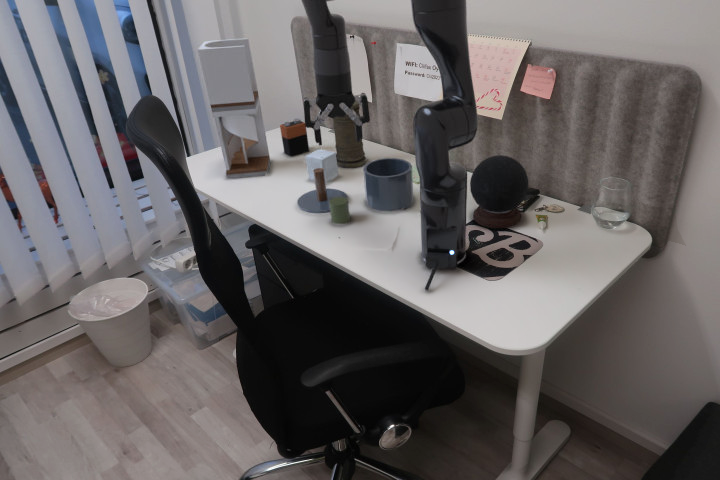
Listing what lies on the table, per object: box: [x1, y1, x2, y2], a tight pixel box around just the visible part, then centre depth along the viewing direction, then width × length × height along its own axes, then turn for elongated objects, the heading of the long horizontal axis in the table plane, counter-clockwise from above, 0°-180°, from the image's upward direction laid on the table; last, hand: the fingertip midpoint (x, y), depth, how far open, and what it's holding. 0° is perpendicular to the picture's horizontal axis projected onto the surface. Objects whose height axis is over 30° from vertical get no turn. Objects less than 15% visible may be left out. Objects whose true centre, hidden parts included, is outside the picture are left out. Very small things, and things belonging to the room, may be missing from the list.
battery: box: [279, 118, 310, 157], centre depth 170 cm, size 4×7×10 cm, turn 129°
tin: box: [329, 197, 351, 225], centre depth 132 cm, size 4×4×6 cm
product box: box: [305, 148, 339, 183], centre depth 153 cm, size 6×6×7 cm
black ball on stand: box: [469, 154, 529, 230], centre depth 128 cm, size 13×13×15 cm
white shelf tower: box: [197, 37, 271, 180], centre depth 153 cm, size 11×11×35 cm
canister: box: [362, 157, 414, 212], centre depth 138 cm, size 12×12×10 cm
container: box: [331, 101, 367, 169], centre depth 159 cm, size 9×9×18 cm
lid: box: [296, 168, 349, 214], centre depth 139 cm, size 13×13×9 cm
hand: (339, 142), depth 126 cm, fingers open, 8 cm apart
